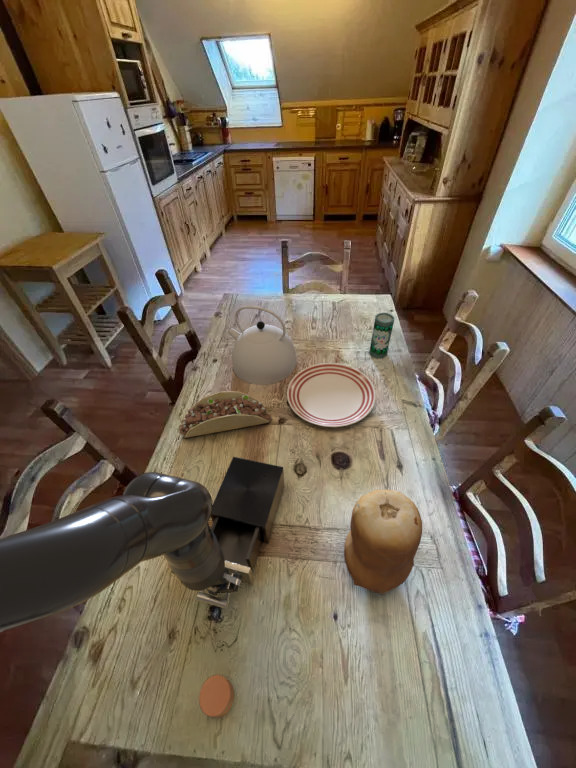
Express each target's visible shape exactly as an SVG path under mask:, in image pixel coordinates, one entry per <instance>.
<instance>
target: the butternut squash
mask: <svg viewBox="0 0 576 768" xmlns="http://www.w3.org/2000/svg"><path fill="white" fill-rule="evenodd" d="M349 528H350V530H349V531H348V533H347V535H346V537H345V541H344V545H343V558H344V559H343V560H344V563H345V566H346V569H347V572H348V574H349V576H350V577H351V578H352V580H353V585H354V586H358V587H360V588H363V589H364V590H367V591H370V592H373V593H376V594H380V595H385V594H386V593H388V592H390V591H394V590H395V589H396V588H398V587H400V586H401V585H402V584H403V583H405V581H406V580H407V579H408V577H409V576H410V574H411V572H412V570H413V568H414V566H415V563H414V559H415V556H416V554H417V552H418V550H419V546H420V544H421V542H422V541H421V540H422V535H423V519H422V516H421V513H420V511H419V509H418V507H417V505H416V504H415V502H414V501H413V500H412V499H410V498H409V497H408V496H407V495H405V494H404V493H403V492H400V491H397V490H391V489H375V490H372V491H370V492H369V493H366V494H365V495H361V496H360V497H359V498H358V500H357V501H356V502H355V504H354V506H353V508H352V511H351V517H350V527H349Z"/></svg>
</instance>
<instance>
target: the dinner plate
mask: <svg viewBox="0 0 576 768" xmlns="http://www.w3.org/2000/svg"><path fill="white" fill-rule="evenodd" d="M286 399H287V402H288V405H289V407H290V408H291V410H292V411H293V412H294V413H295V415H296V416H298V417H299V418H301V419H302V420H303V421H306V422H308V423H310V424H312V425H316V426H319V427H323V428H324V427H325V428H341V427H342V428H343V427H347V426H350V425H353V424H356V423H358V422H360V421H362V420H363V419H365V418H366V417H367V416H368V415H369V414H370V413H371V412H372V411H373V409H374V407H375V404H376V401H377V391H376V388H375V385H374V384H373V382H372V381H371V379H370V377H368V376H367V375H366V374H365V373H364V372H362V371H361V370H359V369H357V368H356V367H352V366H351V365H347V364H343V363H338V362H337V363H336V362H322V363H317V364H313V365H310V366H307V367H305V368H304V369H303V368H302V370H300V371H299V372H297V373H296V374H295V375H294V376H293V377H292V378H291V380H290V381H289V383H288V386H287V389H286Z"/></svg>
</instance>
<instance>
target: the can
mask: <svg viewBox="0 0 576 768" xmlns="http://www.w3.org/2000/svg"><path fill="white" fill-rule="evenodd" d="M394 323H395V316H394V315H393V314H391V313H389V312H379V313H376V315H375V317H374V322H373V328H372V333H371V340H370V346H369V351H368V355H370V356H371V357H372V358H374V359H384V358H386V357H387V355H388V351H389V346H390V341H391V337H392V332H393V327H394Z"/></svg>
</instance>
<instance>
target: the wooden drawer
mask: <svg viewBox="0 0 576 768" xmlns="http://www.w3.org/2000/svg"><path fill="white" fill-rule="evenodd" d="M210 529H211V530H212V532H213V533H214V534H215V536H216V538H217V540H218V543H219V545H220V547H221V550H222V552H223V555H224V560H225V567H226V568H227V569H228V570H229V575H231V573H233V574H238V573H239V574H241V575H242V580H241V583H242V584H246V585H250V586H253V585H254V582H255V577H254V575H253V572H254V569H255V566H256V563H257V560H258V556H259V554H260V553H259V552H260V549H261V547H262V540H263V531H262V528H261V527H257V526H253V525H249V524H245V523H241V522H237V521H233V520H229V519H225V518H220V517H215V519H214V522H213V521H212V524H211V526H210ZM205 591H206V589H205V590H201V591H198V592H197V595H196V598H195V599H196V601H199V602H201V603H205V604H208V605H212V606H215V607H219V608H222V609H224V610H226V609H228V607H229V604H230V601H229V599H230V596H231V593H225V596H224V598H222V597H219V596H215V595H212V594H209V593H206V592H205Z"/></svg>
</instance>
